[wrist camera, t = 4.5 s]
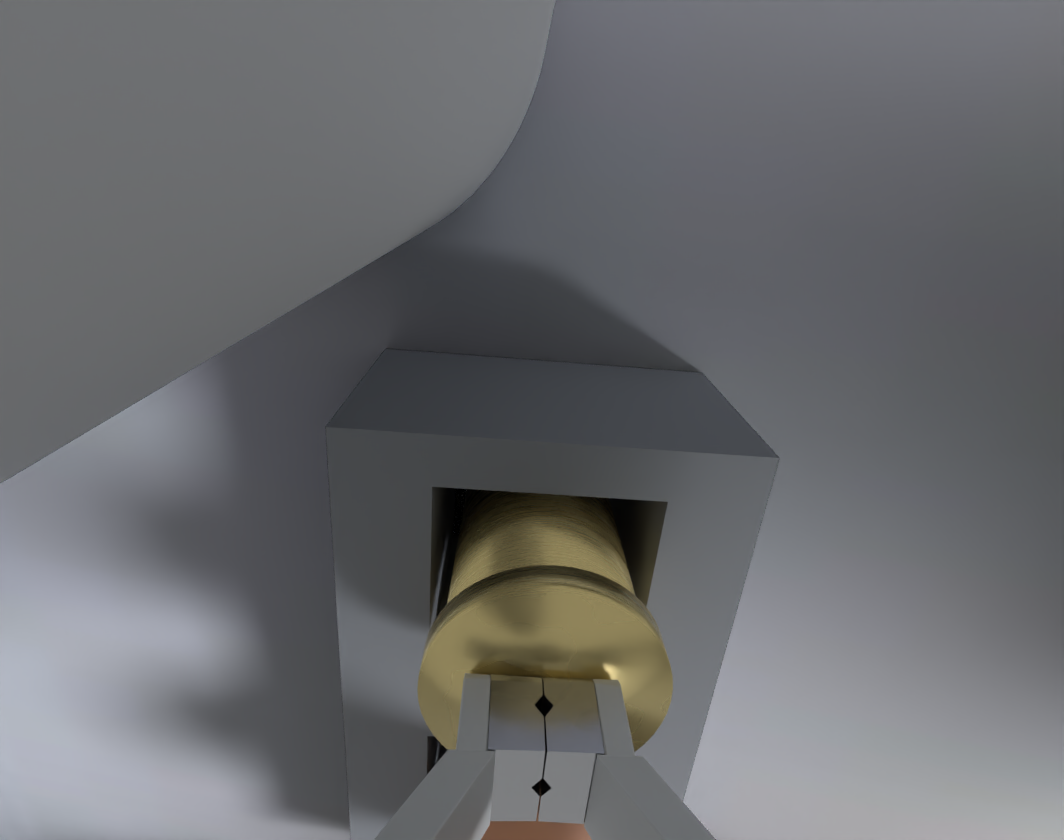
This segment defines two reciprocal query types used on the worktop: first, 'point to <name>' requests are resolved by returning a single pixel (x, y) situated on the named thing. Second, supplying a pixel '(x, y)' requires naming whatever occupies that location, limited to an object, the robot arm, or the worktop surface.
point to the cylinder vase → (222, 174)
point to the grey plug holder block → (530, 467)
